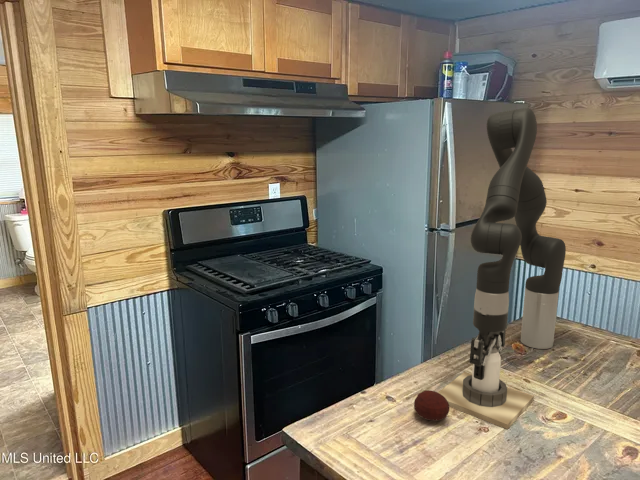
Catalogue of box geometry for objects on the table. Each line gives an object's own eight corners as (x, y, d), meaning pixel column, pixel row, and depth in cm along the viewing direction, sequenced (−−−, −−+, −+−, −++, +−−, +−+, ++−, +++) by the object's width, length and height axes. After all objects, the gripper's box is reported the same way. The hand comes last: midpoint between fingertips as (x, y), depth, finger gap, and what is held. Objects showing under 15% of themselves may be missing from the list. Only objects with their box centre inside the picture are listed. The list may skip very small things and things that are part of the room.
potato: (423, 430, 108) (424, 405, 106) (407, 410, 115) (408, 386, 114) (453, 424, 109) (455, 400, 108) (435, 405, 117) (436, 382, 116)
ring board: (464, 376, 131) (465, 361, 130) (533, 400, 119) (535, 384, 118) (433, 400, 119) (434, 384, 118) (507, 429, 108) (508, 412, 107)
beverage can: (477, 386, 123) (480, 341, 121) (501, 394, 119) (505, 348, 117) (466, 396, 119) (469, 350, 116) (492, 405, 115) (495, 357, 112)
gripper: (488, 296, 122) (484, 357, 125) (461, 312, 111) (457, 377, 115) (518, 303, 117) (513, 366, 120) (494, 320, 106) (489, 388, 110)
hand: (486, 371), depth 118 cm, fingers open, 8 cm apart
